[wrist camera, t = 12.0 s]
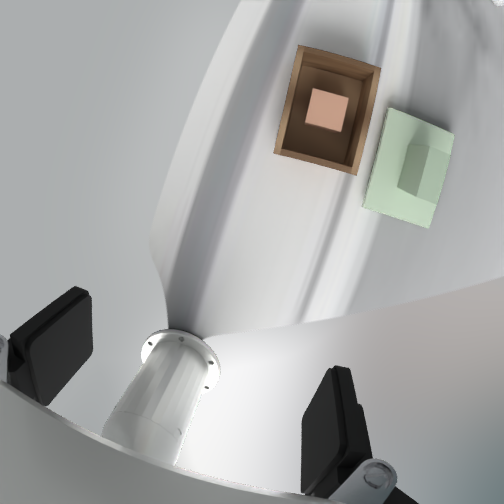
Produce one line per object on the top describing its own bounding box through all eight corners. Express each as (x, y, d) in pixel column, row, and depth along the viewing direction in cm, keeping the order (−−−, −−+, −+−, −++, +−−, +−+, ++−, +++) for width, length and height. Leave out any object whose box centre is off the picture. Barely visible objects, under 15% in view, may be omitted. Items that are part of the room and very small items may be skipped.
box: (346, 170, 33) (356, 175, 27) (276, 151, 33) (273, 153, 28) (367, 79, 29) (381, 68, 23) (297, 60, 29) (298, 44, 24)
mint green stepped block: (422, 224, 34) (450, 245, 26) (359, 204, 34) (376, 221, 27) (447, 134, 30) (481, 135, 22) (384, 109, 30) (408, 100, 23)
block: (336, 133, 31) (341, 131, 28) (303, 124, 31) (305, 122, 28) (343, 102, 30) (348, 98, 27) (311, 93, 30) (312, 88, 27)
